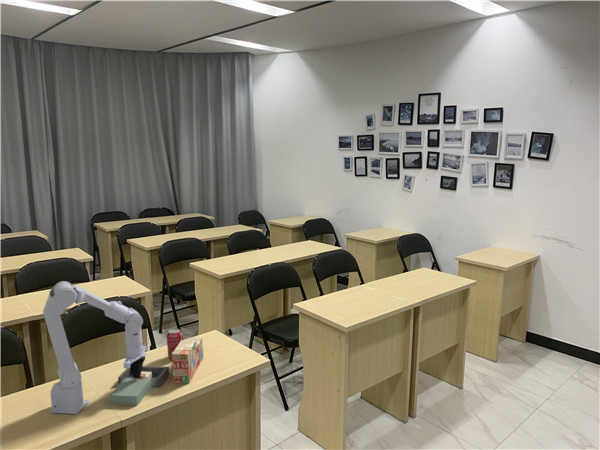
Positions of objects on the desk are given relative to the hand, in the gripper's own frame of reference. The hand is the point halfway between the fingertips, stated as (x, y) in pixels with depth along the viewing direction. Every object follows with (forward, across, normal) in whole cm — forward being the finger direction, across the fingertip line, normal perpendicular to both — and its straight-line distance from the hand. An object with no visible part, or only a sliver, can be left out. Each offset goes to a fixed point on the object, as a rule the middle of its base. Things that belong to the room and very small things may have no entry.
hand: (136, 377), depth 170 cm
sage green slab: (+4, -5, 0) cm, 7 cm away
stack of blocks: (+5, +16, -14) cm, 22 cm away
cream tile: (+2, +6, 0) cm, 6 cm away
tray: (+4, +6, 0) cm, 8 cm away
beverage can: (+5, +26, -5) cm, 27 cm away
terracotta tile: (+2, +1, 0) cm, 2 cm away
